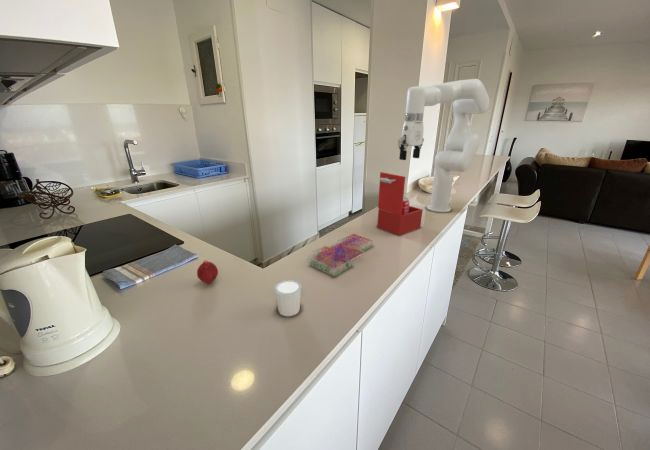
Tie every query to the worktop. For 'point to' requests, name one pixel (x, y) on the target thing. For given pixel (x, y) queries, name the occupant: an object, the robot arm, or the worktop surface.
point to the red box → (400, 221)
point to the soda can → (405, 206)
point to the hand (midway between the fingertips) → (409, 158)
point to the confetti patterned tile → (332, 254)
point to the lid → (391, 193)
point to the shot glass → (288, 297)
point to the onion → (207, 271)
